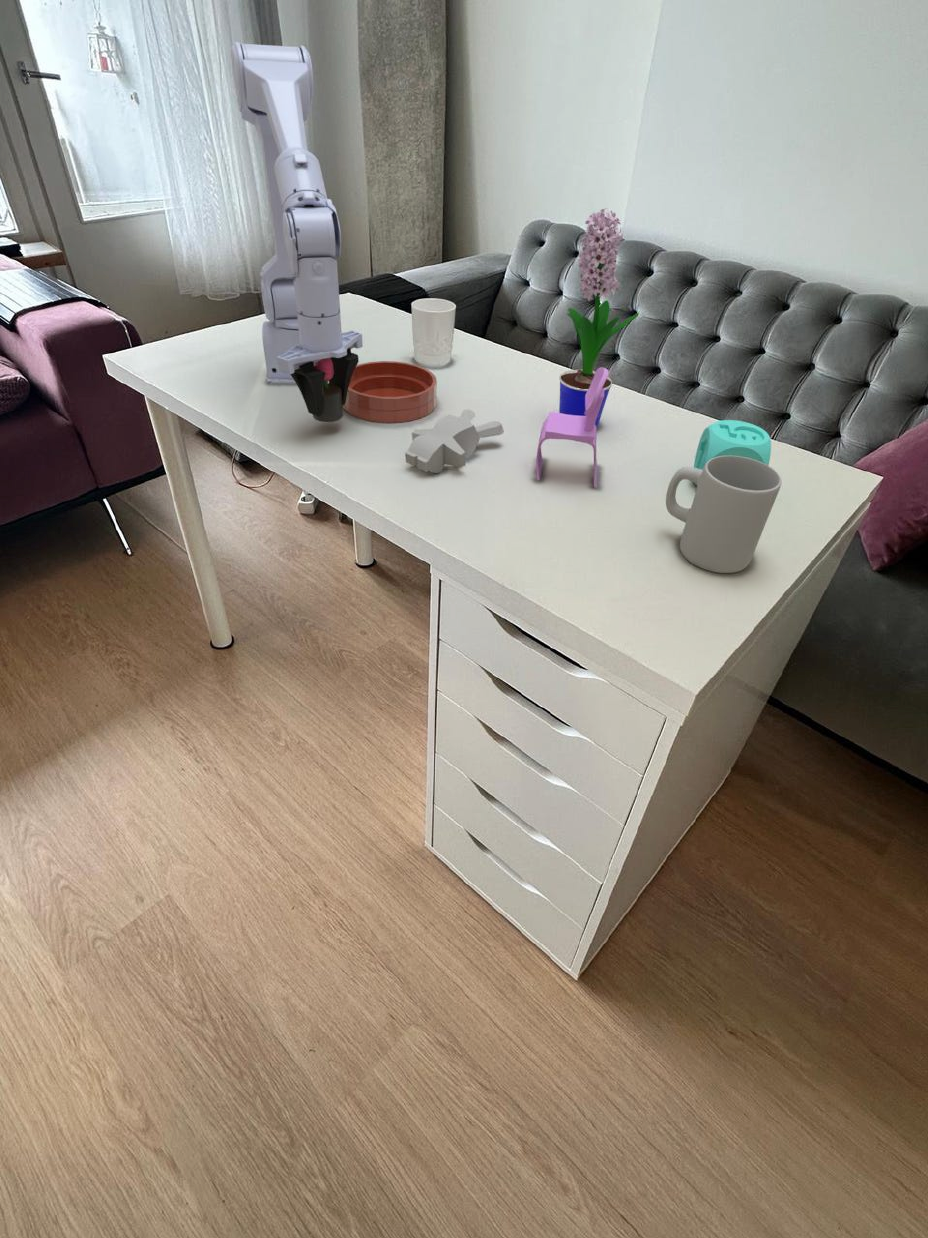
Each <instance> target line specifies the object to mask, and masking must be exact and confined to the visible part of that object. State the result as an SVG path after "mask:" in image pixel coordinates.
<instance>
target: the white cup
mask: <svg viewBox="0 0 928 1238" xmlns="http://www.w3.org/2000/svg"><path fill="white" fill-rule="evenodd" d="M410 305H411V306H410V307H411V329H412V342H413V343H412V344H413V359H414V361H415V362H416V363H419V364H422V365H425V366H431V367H432V366H442V365H446V364H448V363H450V362H451V359H452V357H451V356H452V349H453V342H454V334H455V324H456V323H455V322H456V313H457V312H456V310H457V305H456V304H455V303H454V302H452V301H451V300H448V299H443V298H433V297H432V298H428V297H427V298H426V297H425V298H419V299H416V300H414V301H412V302H411V303H410Z"/></svg>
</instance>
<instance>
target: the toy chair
mask: <svg viewBox="0 0 928 1238" xmlns="http://www.w3.org/2000/svg"><path fill="white" fill-rule="evenodd" d="M609 375H610V371H609V369H607V368H606V367H603V366H601V367H598V368H597V369H596V371H595V375H594V378H593V380H592V383H591V385H590V387H589V389H588V391H587V393H586V395H585V407H586V411H585V412H584V414H585V415H586V416H576V415H567V414H562V413H559V412H556V411H548V413H547V415H548V416H547V418H546V419H545V420H544V421H543V424H542V426H541V430H540V434H539V438H538V439H539V440H538V445H537V450H536V463H535V464H536V465H535V466H536V468H535V469H536V481H537V482H540V480H541V475H542V467H543V461H544V460H543V454H542V453H543V452H542V445H543V443H544V442H545V441H546V440H565V441H566V440H567V441H575V442H579V443H583V444H588V445H590V446H591V447H592V449H593V488H594V489H597V488H598V483H597V482H598V460H597V429H596V426H595V422H596V419H597V416H598V413H599V410H600V407H601V404H602V401H603V398H604V389H602V388H603V385H604V383H605V381H606V379H607V377H609Z"/></svg>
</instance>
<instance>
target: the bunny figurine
mask: <svg viewBox="0 0 928 1238" xmlns="http://www.w3.org/2000/svg"><path fill="white" fill-rule="evenodd" d="M475 417H476V412H475V411H474V410H472V409H463V411H462V412H461V413H460V416H455V415H451V414H447V415H445V416H442V417H441V418H439V419H438V420H437V421H436V422H435V424H434V425H433V427H432V428H419V429H417V428H416V429H415V428H414V429H413V431H411V440H412V441H411V443H410V445H409V448H408V449H407V451H406V452H404V454H405V463H406V464H409V465H411V466H413V467H417V469H419V470H420V471H423V472H425V473H427V472H429V471H430V472H431V473H434V474H440V473H441V472H442V471H443V470H444V468H445V466H452V467H456V468H457V467H459V468H463V467H466V457H470V456H471V455H473V454H474V453H475V451H476V449H477V446H478V443H479V441H480V439H484V438H490V437H496V436H501V435H503V434H504V431H505V430H504V428H503V425H502V423H501V421H495V420H493V421H488V422H486V423H483V424H479V425H477V426H474V424H473V423H472V421H473V419H474V418H475Z"/></svg>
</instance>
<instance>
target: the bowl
mask: <svg viewBox="0 0 928 1238" xmlns="http://www.w3.org/2000/svg"><path fill="white" fill-rule="evenodd" d="M437 385H438V382H437V377H436V375H435V374H434V373H433V372H432V371H430V370H429V369H427V368H425V367H422V366H420V365H417V364H413V363H409V362H405V361H394V360H393V361H392V360H380V361H368V362H364V363H358V364H357V366H356V367H355V369H354V372H353V374H352V377H351V380H350V383H349V388H348V392H347V398H346V403H345V405H343V406H342V407H343V410H344V411H345V412H347V413H348V414H349V415H352V416H353V417H356V418H358V419H361V420H365V421H368V422H374V423H382V424H398V423H407V422H413V421H417V420H419V419H422V418H424V417H427V416H428V415H430V414H431V413H433V412H434V410H435V409H436V407H437V392H438V391H437V387H438V386H437Z"/></svg>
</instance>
